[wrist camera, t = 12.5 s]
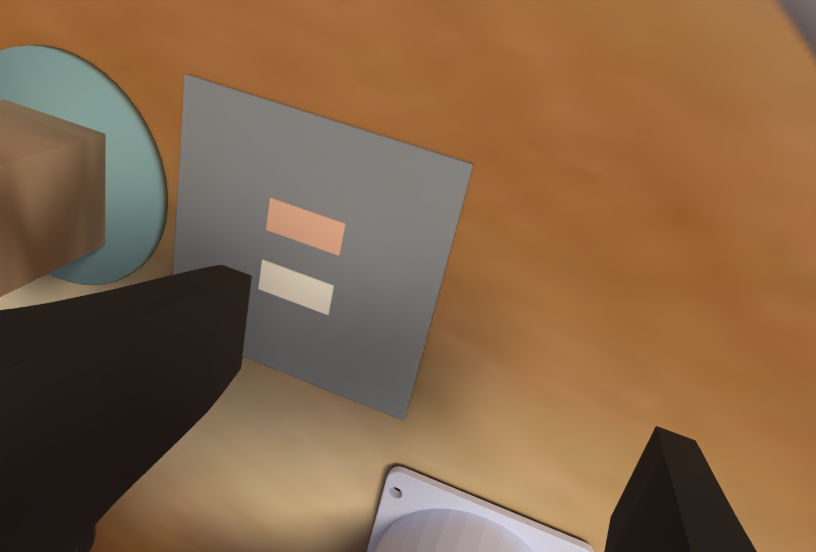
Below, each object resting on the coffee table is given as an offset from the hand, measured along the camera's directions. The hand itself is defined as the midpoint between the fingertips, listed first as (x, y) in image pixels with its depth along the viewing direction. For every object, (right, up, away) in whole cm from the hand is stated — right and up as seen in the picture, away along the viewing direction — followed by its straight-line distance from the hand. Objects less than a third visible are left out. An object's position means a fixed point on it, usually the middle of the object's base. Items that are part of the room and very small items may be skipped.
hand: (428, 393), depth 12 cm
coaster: (-13, +6, +14) cm, 20 cm away
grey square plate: (-4, +3, +12) cm, 13 cm away
